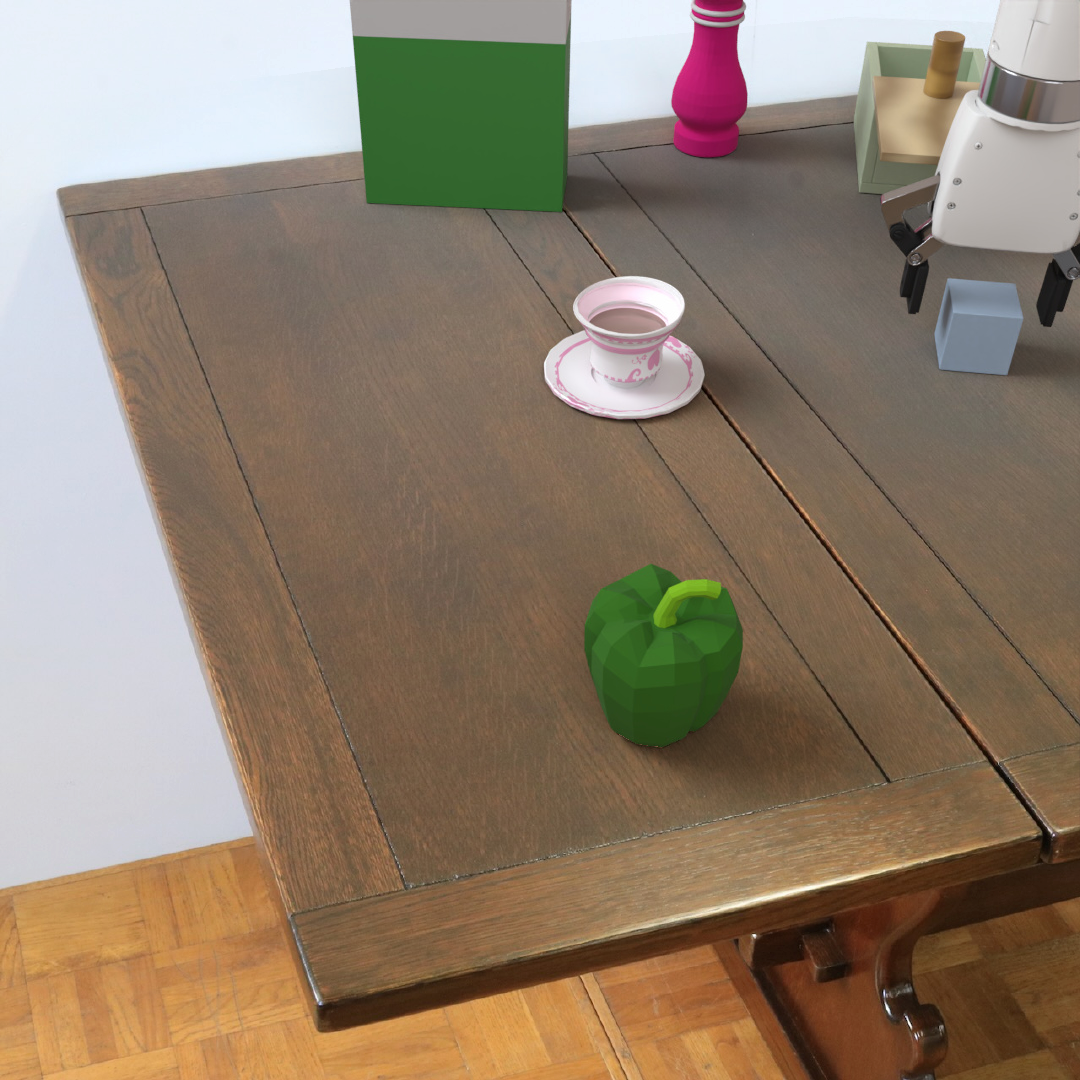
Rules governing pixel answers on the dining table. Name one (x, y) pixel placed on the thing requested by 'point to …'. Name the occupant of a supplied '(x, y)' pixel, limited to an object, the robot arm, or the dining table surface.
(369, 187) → the hardback book
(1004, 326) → the block
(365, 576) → the dining table surface
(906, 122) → the wooden box lid
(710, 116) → the pepper mill
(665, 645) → the bell pepper
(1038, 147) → the robot arm
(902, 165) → the box
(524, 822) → the dining table surface
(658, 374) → the teacup
